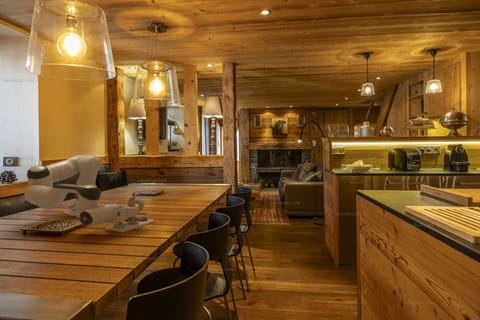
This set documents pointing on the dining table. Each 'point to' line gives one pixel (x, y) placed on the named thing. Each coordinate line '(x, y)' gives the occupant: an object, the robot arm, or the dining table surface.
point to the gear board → (130, 224)
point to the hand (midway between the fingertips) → (132, 207)
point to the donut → (139, 204)
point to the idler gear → (131, 204)
